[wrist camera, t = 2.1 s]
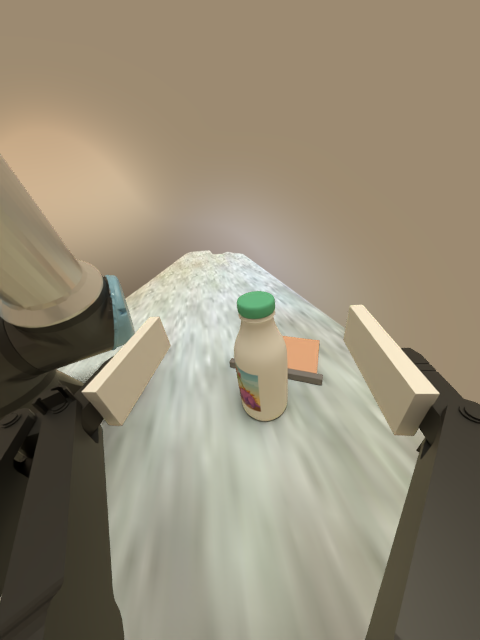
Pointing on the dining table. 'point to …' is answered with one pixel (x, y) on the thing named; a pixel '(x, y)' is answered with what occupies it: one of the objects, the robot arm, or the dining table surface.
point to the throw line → (297, 375)
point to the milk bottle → (260, 357)
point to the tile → (302, 354)
